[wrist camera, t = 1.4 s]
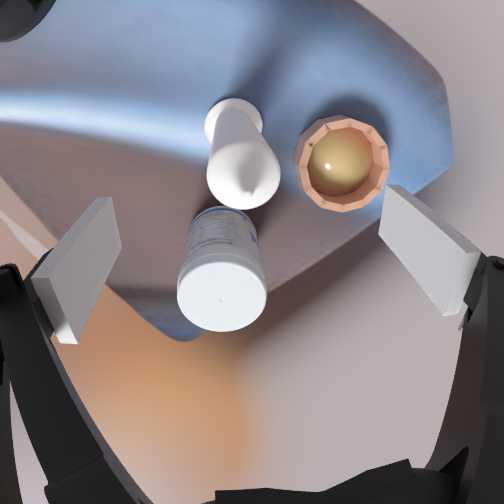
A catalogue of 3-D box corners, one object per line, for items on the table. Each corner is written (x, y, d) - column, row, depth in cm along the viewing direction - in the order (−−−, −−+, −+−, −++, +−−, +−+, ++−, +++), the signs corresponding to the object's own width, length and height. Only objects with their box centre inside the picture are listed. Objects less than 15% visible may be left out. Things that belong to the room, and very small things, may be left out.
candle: (259, 95, 36) (313, 121, 15) (264, 149, 40) (316, 247, 18) (201, 102, 36) (167, 137, 14) (208, 156, 39) (191, 262, 18)
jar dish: (283, 127, 38) (289, 132, 35) (369, 108, 37) (381, 111, 34) (304, 210, 44) (310, 221, 41) (382, 189, 44) (393, 198, 40)
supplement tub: (263, 253, 47) (278, 321, 35) (202, 271, 48) (197, 342, 35) (244, 193, 42) (254, 248, 30) (177, 214, 43) (160, 276, 31)
